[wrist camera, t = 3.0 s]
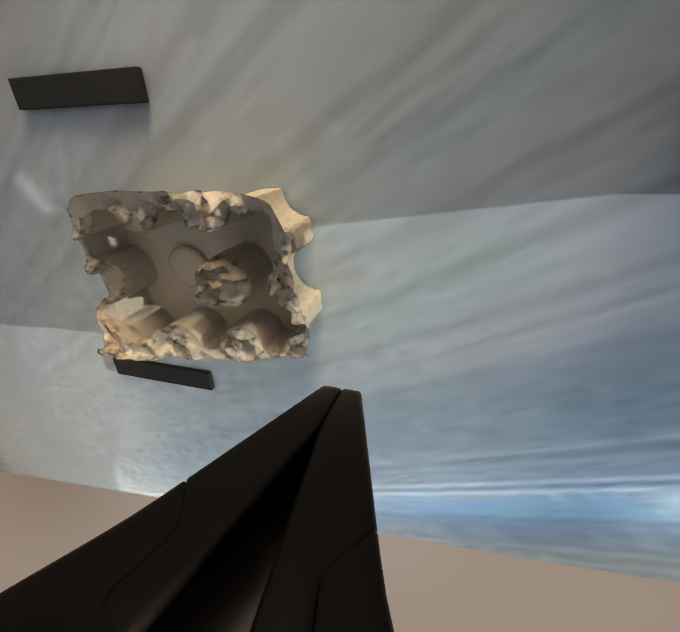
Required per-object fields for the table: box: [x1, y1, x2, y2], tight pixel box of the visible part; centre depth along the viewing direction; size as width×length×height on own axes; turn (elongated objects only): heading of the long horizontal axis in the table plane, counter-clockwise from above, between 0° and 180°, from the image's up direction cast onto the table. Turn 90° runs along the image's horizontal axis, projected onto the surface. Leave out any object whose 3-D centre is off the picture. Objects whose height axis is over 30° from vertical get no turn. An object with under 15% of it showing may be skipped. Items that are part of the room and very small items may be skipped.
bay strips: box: [8, 67, 214, 390], centre depth 19 cm, size 7×16×1 cm, turn 1°
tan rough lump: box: [67, 188, 322, 362], centre depth 16 cm, size 11×8×4 cm
